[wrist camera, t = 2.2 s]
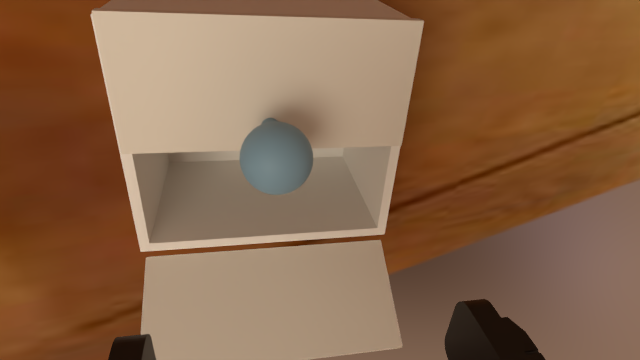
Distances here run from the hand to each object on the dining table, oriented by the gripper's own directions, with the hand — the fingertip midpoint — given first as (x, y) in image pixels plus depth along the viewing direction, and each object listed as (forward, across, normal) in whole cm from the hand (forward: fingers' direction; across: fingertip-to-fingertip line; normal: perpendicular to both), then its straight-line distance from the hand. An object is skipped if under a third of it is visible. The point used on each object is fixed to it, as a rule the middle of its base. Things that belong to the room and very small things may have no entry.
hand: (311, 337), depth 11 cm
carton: (+25, 0, +2) cm, 25 cm away
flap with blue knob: (+14, 0, -2) cm, 14 cm away
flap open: (+11, 0, +11) cm, 16 cm away
